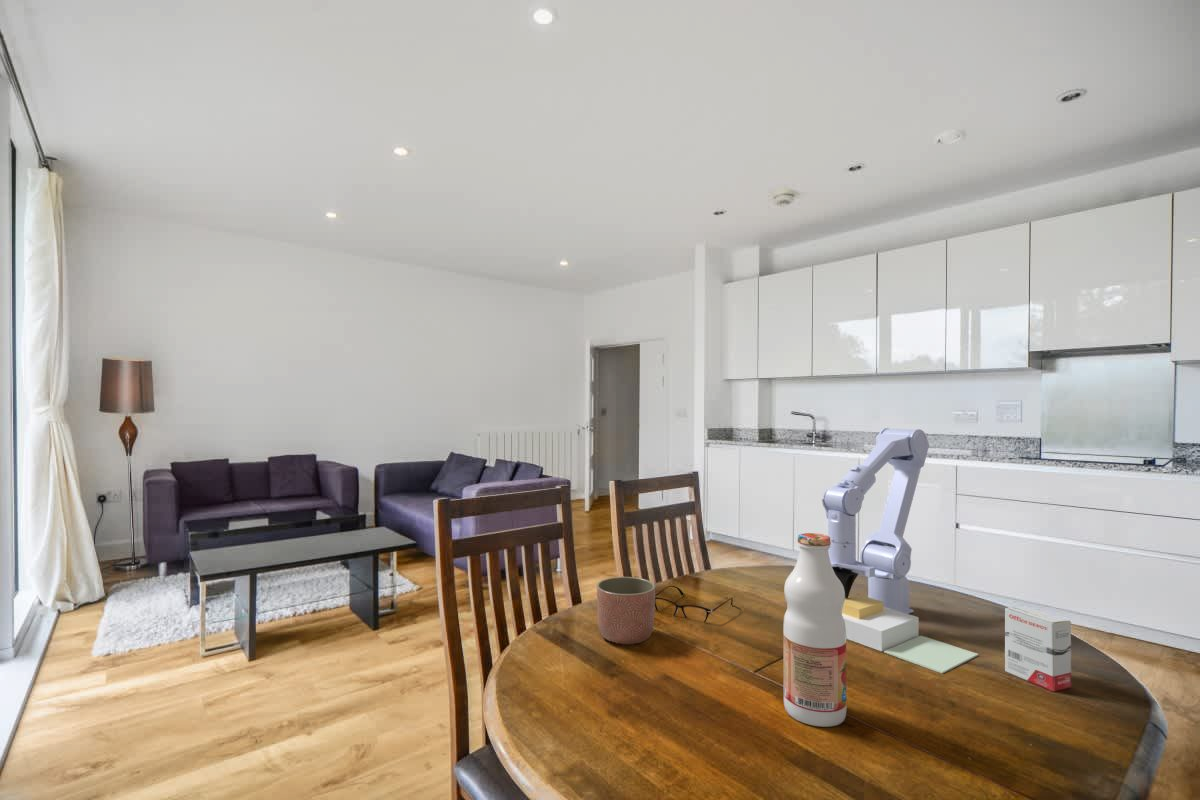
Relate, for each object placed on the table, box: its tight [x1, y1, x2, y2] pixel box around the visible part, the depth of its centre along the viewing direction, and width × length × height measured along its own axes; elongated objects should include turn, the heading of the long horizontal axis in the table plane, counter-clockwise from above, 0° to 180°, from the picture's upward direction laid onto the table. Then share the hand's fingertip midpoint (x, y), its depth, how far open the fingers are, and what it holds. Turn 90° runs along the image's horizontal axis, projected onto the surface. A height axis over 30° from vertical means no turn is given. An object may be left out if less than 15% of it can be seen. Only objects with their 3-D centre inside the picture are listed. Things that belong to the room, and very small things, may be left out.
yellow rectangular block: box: [842, 594, 883, 619], centre depth 127 cm, size 9×6×2 cm, turn 124°
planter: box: [596, 576, 656, 645], centre depth 122 cm, size 12×12×11 cm
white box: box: [842, 596, 920, 652], centre depth 128 cm, size 14×22×4 cm, turn 34°
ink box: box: [1004, 605, 1072, 692], centre depth 104 cm, size 8×5×12 cm, turn 20°
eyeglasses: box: [655, 585, 734, 623], centre depth 140 cm, size 16×16×4 cm
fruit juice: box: [782, 532, 847, 728], centre depth 92 cm, size 9×9×28 cm
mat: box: [883, 635, 979, 674], centre depth 114 cm, size 14×11×1 cm
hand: (842, 601), depth 130 cm, fingers closed
